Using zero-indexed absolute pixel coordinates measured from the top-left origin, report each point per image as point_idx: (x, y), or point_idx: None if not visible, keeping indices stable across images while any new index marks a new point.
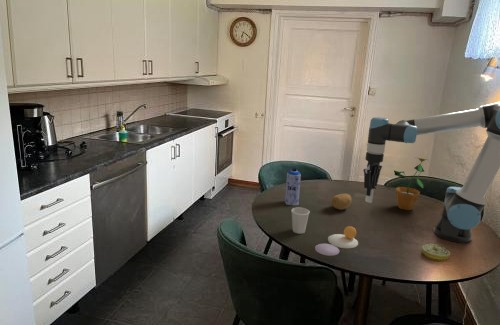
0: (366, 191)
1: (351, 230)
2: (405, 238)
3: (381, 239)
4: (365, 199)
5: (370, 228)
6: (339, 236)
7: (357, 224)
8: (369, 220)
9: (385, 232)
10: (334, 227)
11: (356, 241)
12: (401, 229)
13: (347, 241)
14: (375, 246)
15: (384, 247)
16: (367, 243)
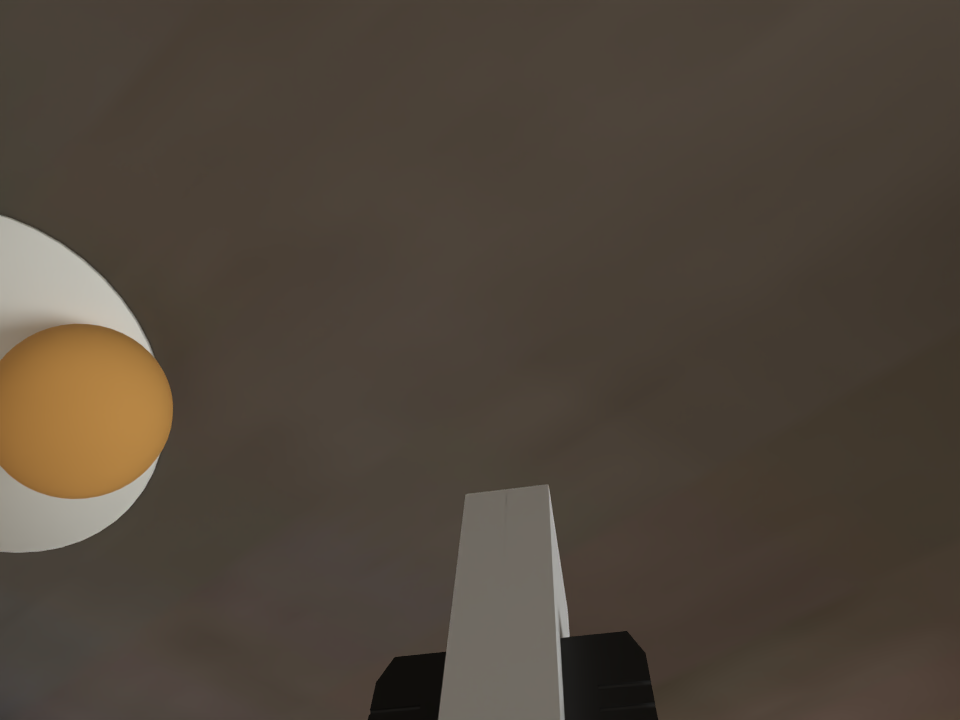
0: (445, 688)
1: (21, 481)
2: (736, 705)
3: None
4: (464, 526)
5: (619, 336)
6: (11, 290)
7: (570, 143)
8: (882, 140)
9: (684, 509)
10: (148, 27)
11: (126, 485)
12: (956, 562)
13: None
14: (255, 644)
15: (327, 699)
16: (226, 565)
